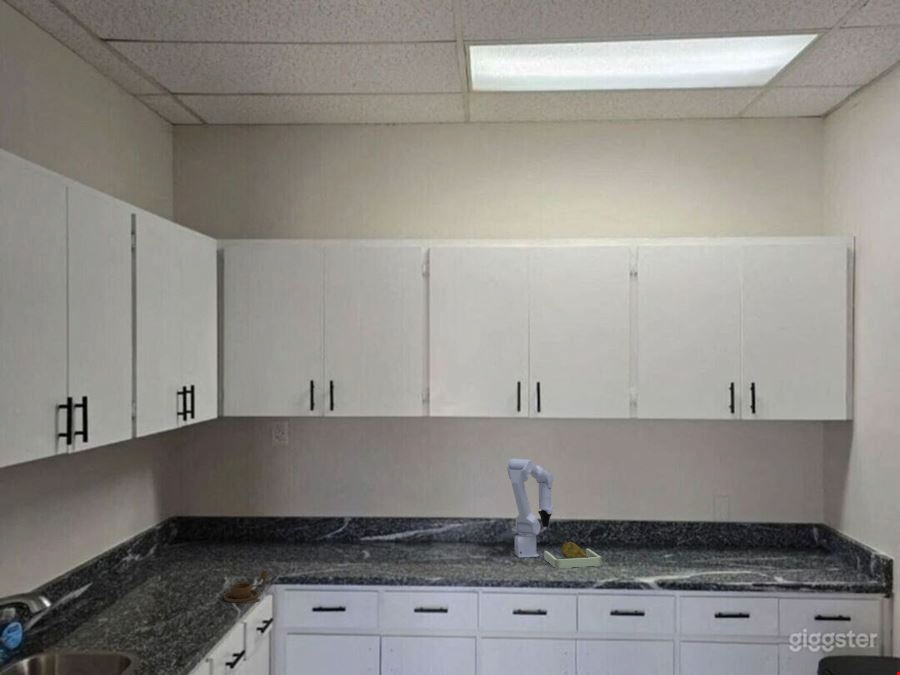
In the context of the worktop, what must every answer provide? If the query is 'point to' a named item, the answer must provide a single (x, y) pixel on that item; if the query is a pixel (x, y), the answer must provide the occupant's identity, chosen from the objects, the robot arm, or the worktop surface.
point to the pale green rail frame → (574, 560)
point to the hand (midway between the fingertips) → (545, 526)
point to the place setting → (244, 591)
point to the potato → (572, 551)
